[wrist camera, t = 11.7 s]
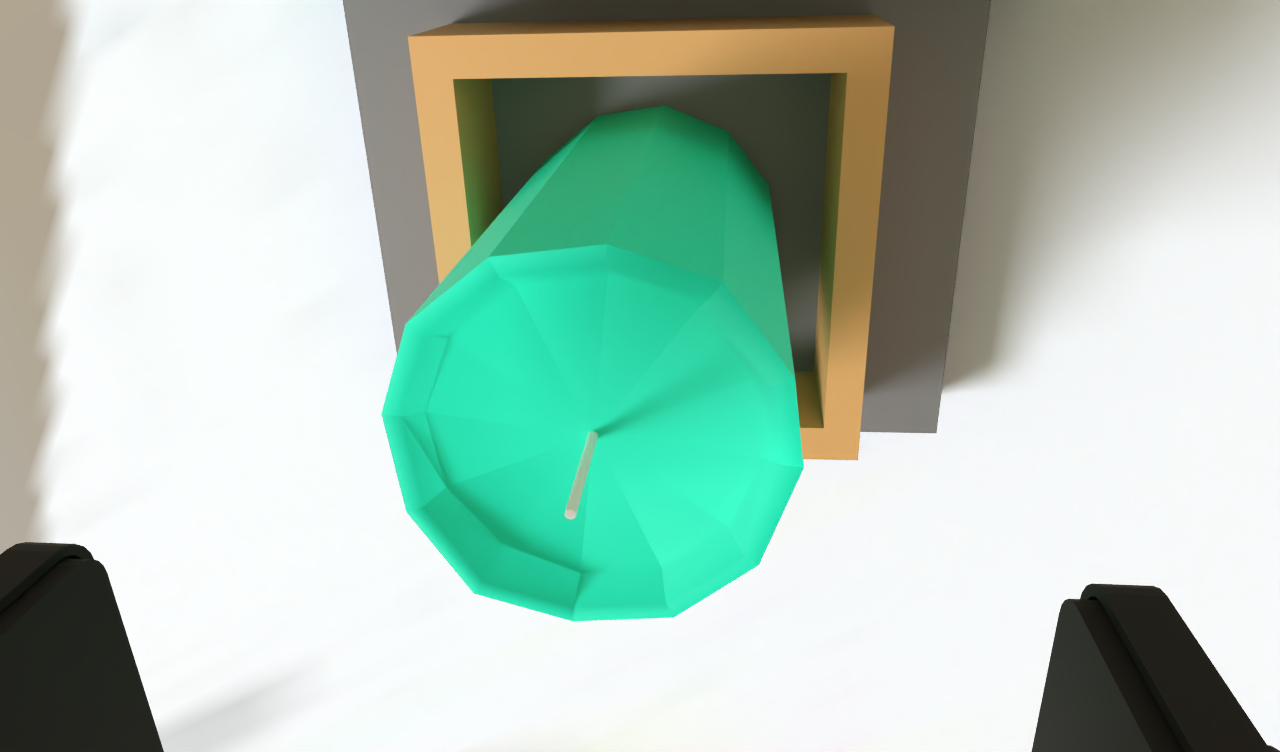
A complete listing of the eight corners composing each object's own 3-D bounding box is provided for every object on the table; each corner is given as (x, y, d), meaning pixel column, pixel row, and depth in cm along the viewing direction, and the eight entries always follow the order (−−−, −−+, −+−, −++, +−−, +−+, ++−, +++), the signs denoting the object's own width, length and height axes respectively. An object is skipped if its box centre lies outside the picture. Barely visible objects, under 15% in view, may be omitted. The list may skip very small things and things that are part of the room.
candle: (675, 390, 24) (627, 764, 13) (481, 254, 23) (252, 540, 12) (830, 210, 21) (926, 485, 11) (621, 48, 20) (493, 173, 10)
